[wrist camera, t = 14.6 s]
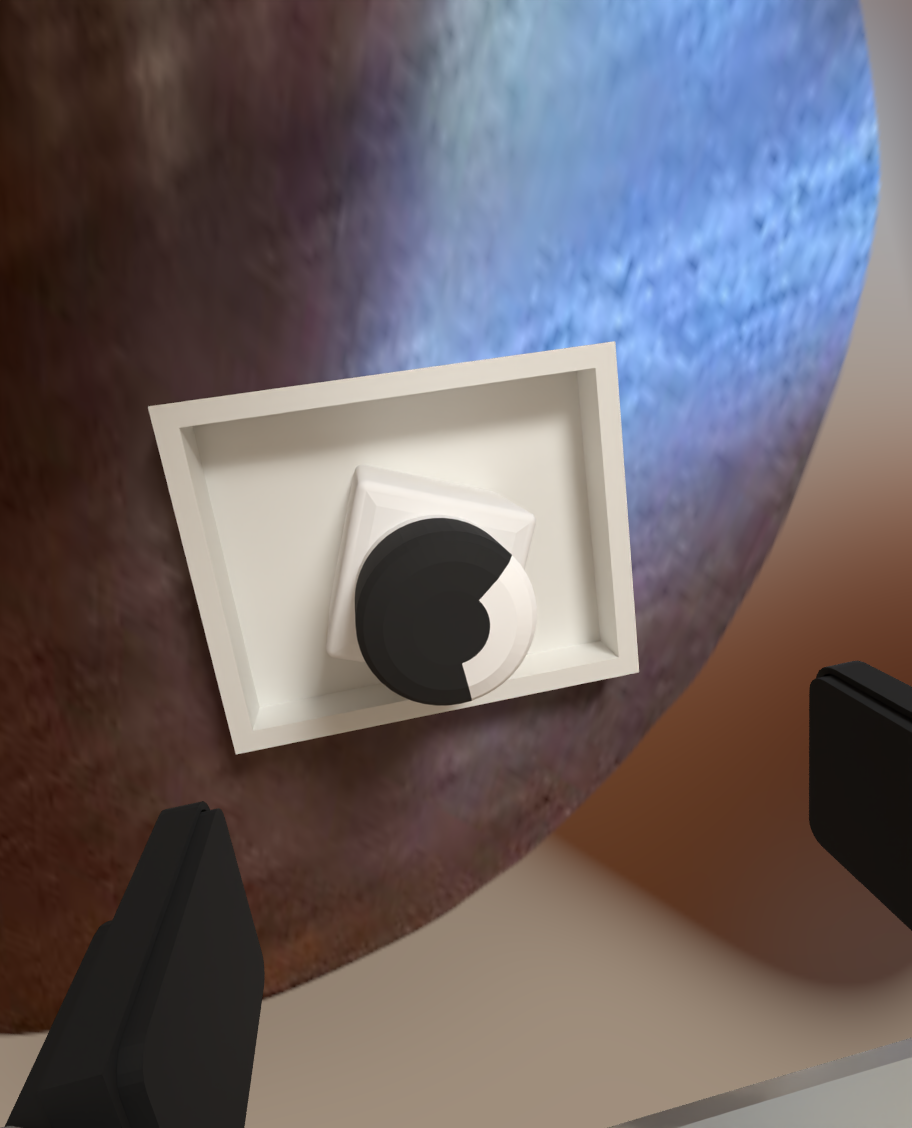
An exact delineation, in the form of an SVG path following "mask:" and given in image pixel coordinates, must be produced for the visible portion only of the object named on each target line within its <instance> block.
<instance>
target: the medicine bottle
mask: <svg viewBox="0 0 912 1128" xmlns="http://www.w3.org/2000/svg"><path fill="white" fill-rule="evenodd" d="M535 525H536V518H535V517H534V515H533V514H532V513H530V512H528V511H527V510H525V509H523V508H521V507H520V506H518V505H516V504H515V503H513V502H511V501H510V500H508V499H506V498H505V497H503V496H501V495H499V494H498V493H496V492H494V491H489V490H484V489H479V488H474V487H470V486H465V485H460V484H455V483H450V482H445V481H440V480H436V479H431V478H426V477H421V476H416V475H411V474H407V473H402V472H397V471H392V470H387V469H382V468H377V467H373V466H368V465H359V466H357V467H356V468H355V470H354V475H353V480H352V486H351V491H350V496H349V502H348V507H347V512H346V518H345V523H344V529H343V534H342V539H341V545H340V550H339V555H338V561H337V566H336V571H335V577H334V582H333V588H332V593H331V598H330V608H329V620H328V632H327V644H326V650H327V653H328V654H329V655H330V656H331V657H333V658H339V659H345V660H352V661H359V662H366V664H367V665H368V667H369V668H370V670H371V671H372V673H373V674H374V675H375V676H376V677H377V678H378V679H379V681H380V682H381V683H383V684H384V685H385V686H386V687H387V688H389V689H390V690H391V691H393V692H395V693H396V694H398V695H400V696H402V697H404V698H406V699H409V700H411V701H414V702H418V703H422V704H428V705H435V706H448V705H456V704H462V703H466V702H469V701H473V700H475V699H478V698H480V697H483V696H485V695H486V694H488V693H490V692H492V691H494V690H495V689H496V688H498V687H499V686H500V685H502V684H503V683H504V682H505V681H506V680H508V679H509V678H510V677H511V676H512V675H513V674H514V672H515V671H516V670H517V669H518V667H519V666H520V665H521V663H522V662H523V660H524V658H525V657H526V655H527V653H528V651H529V649H530V646H531V644H532V641H533V637H534V634H535V629H536V622H537V606H536V599H535V594H534V591H533V587H532V584H531V582H530V580H529V578H528V576H527V574H526V572H525V571H524V570H525V566H526V562H527V558H528V553H529V549H530V545H531V541H532V537H533V533H534V529H535Z"/></svg>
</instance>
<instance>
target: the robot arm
mask: <svg viewBox="0 0 912 1128" xmlns="http://www.w3.org/2000/svg"><path fill="white" fill-rule="evenodd" d="M809 695H810V696H809V697H810V703H809V704H810V705H809V706H810V707H809V708H810V709H809V718H810V720H809V721H810V722H809V727H810V728H809V736H810V737H809V821H810V826H811V830H812V832H813V834H814V836H815V838H816V839H817V841H818V842H819V843H820V844H821V846H822V847H823V848H825V849H826V850H827V851H828V852H829V853H830V854H831V855H832V856H833V857H834V858H835V859H836V860H837V861H838V862H839V863H840V864H841V865H842V866H844V867H845V868H846V869H847V870H848V871H849V872H850V873H851V874H852V875H853V876H854V877H855V878H856V879H857V880H858V881H859V882H861V883H862V884H863V885H864V886H865V887H866V888H867V889H868V890H869V891H870V892H871V893H872V894H874V896H875V897H877V898H878V899H879V900H880V901H881V902H882V903H883V904H884V905H885V906H886V907H887V908H888V909H889V910H891V912H892V913H894V914H895V915H896V916H897V917H898V918H899V919H900V920H901V921H902V922H903V923H904V924H905V925H906V926H907V927H909V928H910V929H911V930H912V687H911V686H909V685H907V684H905V683H903V682H901V681H899V680H897V679H895V678H893V677H891V676H889V675H888V674H885V673H884V672H882V671H880V670H878V669H876V668H874V667H872V666H870V665H868V664H866V663H864V662H860V661H852V662H847V663H842V664H838V665H834V666H829V667H824V668H822V669H821V670H819V672H818V674H817V677H816V679H814V680H813V681H812V682H811V684H810V694H809ZM263 989H264V962H263V956H262V952H261V948H260V944H259V941H258V937H257V934H256V930H255V926H254V923H253V919H252V915H251V912H250V908H249V904H248V901H247V897H246V894H245V890H244V886H243V883H242V879H241V875H240V872H239V868H238V864H237V861H236V857H235V853H234V850H233V846H232V843H231V839H230V835H229V832H228V828H227V824H226V821H225V817H224V814H223V812H222V810H221V809H219V808H218V809H214V810H210V809H209V807H208V805H207V804H206V803H205V802H204V801H202V802H198V803H193V804H188V805H184V806H179V807H175V808H170V809H165V810H163V811H162V812H161V814H160V815H159V817H158V819H157V822H156V824H155V826H154V828H153V831H152V833H151V835H150V837H149V840H148V842H147V844H146V846H145V849H144V851H143V853H142V855H141V858H140V860H139V862H138V864H137V867H136V869H135V871H134V873H133V876H132V878H131V880H130V882H129V885H128V887H127V889H126V891H125V894H124V896H123V898H122V900H121V902H120V905H119V907H118V909H117V911H116V914H115V916H114V918H113V920H112V921H108V922H106V923H104V924H103V925H101V926H100V927H99V929H98V930H97V932H96V933H95V935H94V937H93V939H92V941H91V943H90V945H89V947H88V950H87V952H86V954H85V956H84V958H83V960H82V962H81V965H80V967H79V969H78V971H77V973H76V975H75V977H74V979H73V982H72V984H71V986H70V988H69V990H68V992H67V994H66V997H65V999H64V1001H63V1003H62V1005H61V1007H60V1009H59V1012H58V1014H57V1016H56V1018H55V1020H54V1022H53V1024H52V1027H51V1029H50V1031H49V1033H48V1035H47V1037H46V1040H45V1042H44V1044H43V1046H42V1048H41V1050H40V1052H39V1054H38V1057H37V1059H36V1061H35V1063H34V1065H33V1068H32V1070H31V1072H30V1074H29V1076H28V1078H27V1080H26V1082H25V1084H24V1087H23V1089H22V1091H21V1093H20V1095H19V1097H18V1099H17V1102H16V1104H15V1106H14V1108H13V1110H12V1112H11V1114H10V1116H9V1119H8V1121H7V1123H6V1125H5V1127H2V1128H244V1126H245V1118H246V1111H247V1103H248V1097H249V1090H250V1083H251V1075H252V1068H253V1061H254V1054H255V1046H256V1039H257V1031H258V1025H259V1017H260V1010H261V1003H262V996H263ZM609 1128H912V1038H909V1039H906V1040H902V1041H899V1042H896V1043H892V1044H889V1045H886V1046H882V1047H879V1048H875V1049H872V1050H869V1051H865V1052H862V1053H858V1054H855V1055H851V1056H848V1057H845V1058H841V1059H838V1060H834V1061H831V1062H828V1063H824V1064H821V1065H817V1066H814V1067H811V1068H807V1069H804V1070H800V1071H797V1072H794V1073H790V1074H787V1075H783V1076H780V1077H777V1078H773V1079H770V1080H766V1081H764V1082H760V1083H756V1084H753V1085H750V1086H746V1087H743V1088H739V1089H736V1090H733V1091H729V1092H726V1093H723V1094H719V1095H716V1096H712V1097H709V1098H706V1099H703V1100H699V1101H696V1102H692V1103H689V1104H686V1105H682V1106H679V1107H675V1108H672V1109H669V1110H665V1111H662V1112H659V1113H655V1114H652V1115H648V1116H645V1117H642V1118H639V1119H635V1120H632V1121H629V1122H625V1123H622V1124H619V1125H616V1126H612V1127H609Z"/></svg>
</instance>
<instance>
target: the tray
mask: <svg viewBox="0 0 912 1128" xmlns="http://www.w3.org/2000/svg"><path fill="white" fill-rule="evenodd" d="M148 410H149V414H150V418H151V422H152V426H153V430H154V433H155V437H156V441H157V445H158V449H159V453H160V457H161V461H162V465H163V469H164V473H165V477H166V481H167V485H168V489H169V493H170V497H171V501H172V505H173V508H174V512H175V516H176V520H177V524H178V528H179V532H180V536H181V540H182V544H183V548H184V552H185V556H186V560H187V564H188V568H189V572H190V576H191V580H192V583H193V587H194V591H195V595H196V599H197V603H198V607H199V611H200V615H201V619H202V623H203V627H204V631H205V635H206V639H207V643H208V647H209V651H210V655H211V659H212V662H213V666H214V670H215V674H216V678H217V682H218V686H219V690H220V694H221V698H222V702H223V706H224V710H225V714H226V718H227V722H228V726H229V730H230V734H231V737H232V741H233V745H234V749H235V753H236V754H241V753H246V752H251V751H256V750H261V749H266V748H270V747H275V746H280V745H285V744H290V743H295V742H300V741H305V740H310V739H314V738H319V737H324V736H329V735H334V734H339V733H344V732H349V731H354V730H359V729H363V728H368V727H373V726H378V725H383V724H388V723H393V722H398V721H403V720H407V719H412V718H417V717H422V716H427V715H432V714H437V713H442V712H447V711H451V710H456V709H461V708H466V707H471V706H476V705H481V704H486V703H491V702H496V701H500V700H505V699H510V698H515V697H520V696H525V695H530V694H535V693H540V692H544V691H549V690H554V689H559V688H564V687H569V686H574V685H579V684H584V683H589V682H593V681H598V680H603V679H608V678H613V677H618V676H623V675H628V674H633V673H637V672H639V664H638V650H637V636H636V622H635V609H634V595H633V581H632V567H631V554H630V540H629V526H628V512H627V499H626V485H625V471H624V457H623V443H622V430H621V416H620V402H619V388H618V375H617V361H616V347H615V342H607V343H600V344H593V345H586V346H579V347H571V348H564V349H557V350H550V351H543V352H536V353H528V354H521V355H514V356H507V357H500V358H492V359H485V360H478V361H471V362H464V363H457V364H449V365H442V366H435V367H428V368H421V369H414V370H406V371H399V372H392V373H385V374H378V375H370V376H363V377H356V378H349V379H342V380H335V381H327V382H320V383H313V384H306V385H299V386H291V387H284V388H277V389H270V390H263V391H256V392H248V393H241V394H234V395H227V396H220V397H212V398H205V399H198V400H191V401H184V402H177V403H169V404H162V405H155V406H148ZM359 465H368V466H373V467H377V468H382V469H387V470H392V471H397V472H402V473H407V474H411V475H416V476H421V477H426V478H431V479H436V480H440V481H445V482H450V483H455V484H460V485H465V486H470V487H474V488H479V489H484V490H489V491H494V492H496V493H498V494H499V495H501V496H503V497H505V498H506V499H508V500H510V501H511V502H513V503H515V504H516V505H518V506H520V507H521V508H523V509H525V510H527V511H528V512H530V513H532V514H533V515H534V517H535V518H536V525H535V529H534V533H533V537H532V541H531V545H530V549H529V553H528V558H527V562H526V566H525V570H524V571H525V572H526V574H527V576H528V578H529V580H530V582H531V584H532V587H533V591H534V594H535V599H536V606H537V622H536V629H535V634H534V637H533V641H532V644H531V646H530V649H529V651H528V653H527V655H526V657H525V658H524V660H523V662H522V663H521V665H520V666H519V667H518V669H517V670H516V671H515V672H514V674H513V675H512V676H511V677H510V678H509V679H508V680H506V681H505V682H504V683H503V684H502V685H500V686H499V687H498V688H496V689H495V690H494V691H492V692H490V693H488V694H486V695H485V696H483V697H480V698H478V699H475V700H473V701H469V702H466V703H462V704H456V705H448V706H435V705H428V704H422V703H418V702H414V701H411V700H409V699H406V698H404V697H402V696H400V695H398V694H396V693H395V692H393V691H391V690H390V689H389V688H387V687H386V686H385V685H384V684H383V683H381V682H380V681H379V679H378V678H377V677H376V676H375V675H374V674H373V673H372V671H371V670H370V668H369V667H368V665H367V664H366V662H359V661H352V660H345V659H339V658H333V657H331V656H330V655H329V654H328V653H327V650H326V644H327V632H328V620H329V608H330V598H331V593H332V588H333V582H334V577H335V571H336V566H337V561H338V555H339V550H340V545H341V539H342V534H343V529H344V523H345V518H346V512H347V507H348V502H349V496H350V491H351V486H352V480H353V475H354V470H355V468H356V467H357V466H359Z"/></svg>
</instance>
